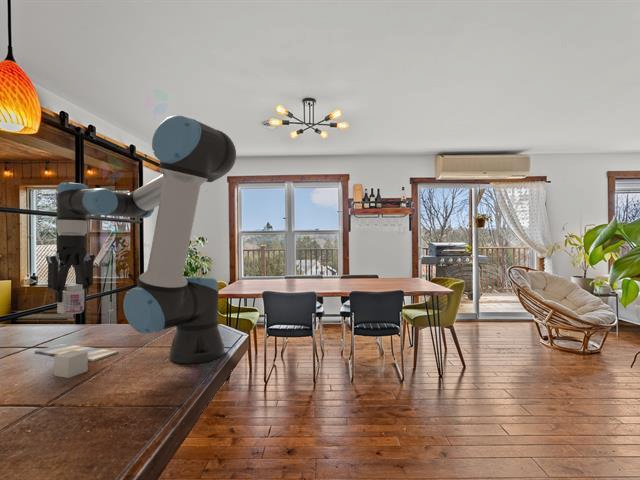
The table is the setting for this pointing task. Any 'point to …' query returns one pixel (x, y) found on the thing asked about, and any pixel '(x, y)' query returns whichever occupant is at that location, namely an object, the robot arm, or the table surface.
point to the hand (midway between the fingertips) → (71, 311)
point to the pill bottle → (74, 299)
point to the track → (93, 353)
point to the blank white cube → (70, 363)
